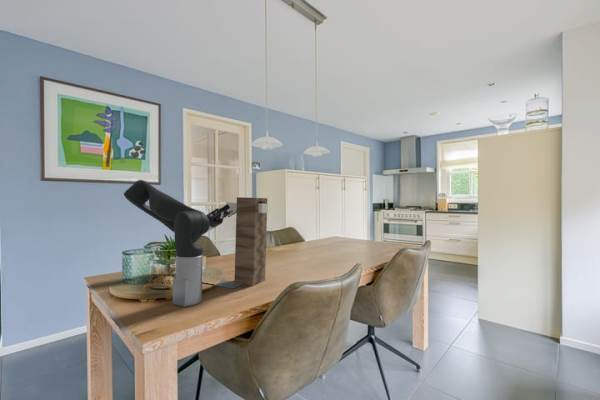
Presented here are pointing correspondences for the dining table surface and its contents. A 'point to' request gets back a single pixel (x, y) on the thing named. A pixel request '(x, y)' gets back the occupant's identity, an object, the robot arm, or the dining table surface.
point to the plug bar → (261, 207)
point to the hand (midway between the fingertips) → (234, 205)
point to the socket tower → (250, 241)
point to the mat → (228, 284)
